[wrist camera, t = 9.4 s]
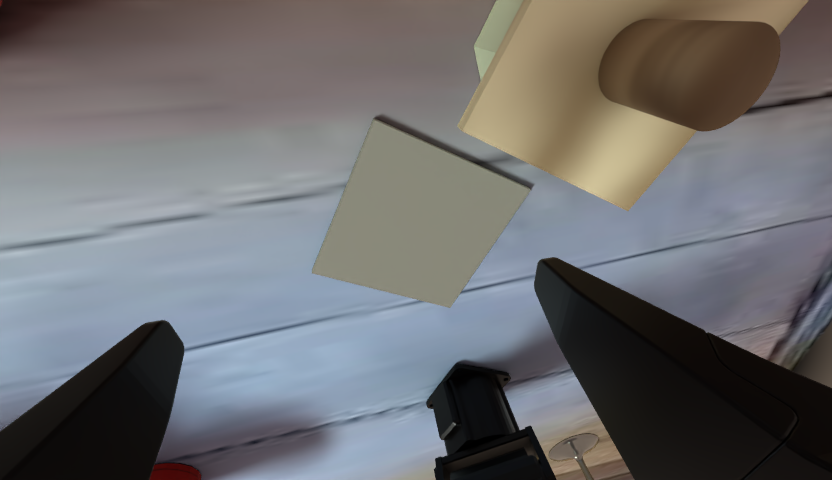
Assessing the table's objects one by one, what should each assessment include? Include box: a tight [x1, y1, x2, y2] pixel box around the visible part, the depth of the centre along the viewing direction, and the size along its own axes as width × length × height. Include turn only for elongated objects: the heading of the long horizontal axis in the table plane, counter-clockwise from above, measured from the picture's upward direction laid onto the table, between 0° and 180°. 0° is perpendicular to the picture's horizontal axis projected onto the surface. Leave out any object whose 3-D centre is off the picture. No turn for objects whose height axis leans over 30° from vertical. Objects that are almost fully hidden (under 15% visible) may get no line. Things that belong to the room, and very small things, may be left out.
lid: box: [458, 0, 809, 211], centre depth 13 cm, size 11×11×5 cm
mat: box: [312, 118, 531, 308], centre depth 23 cm, size 11×11×1 cm
